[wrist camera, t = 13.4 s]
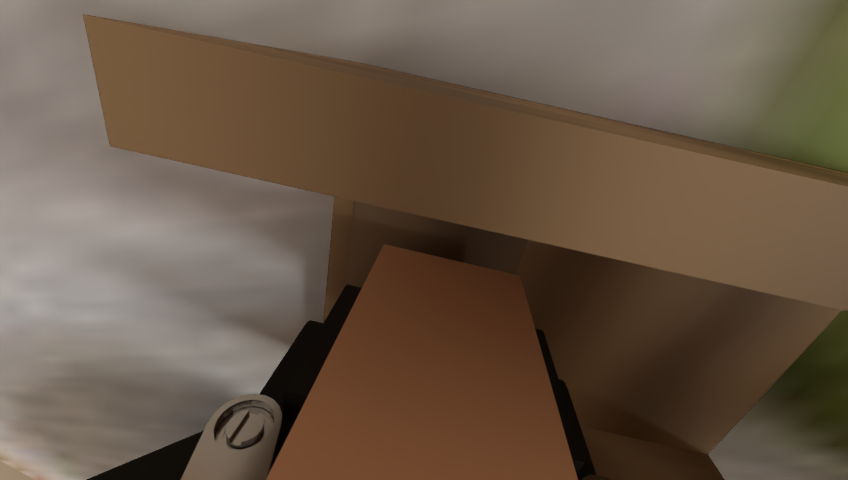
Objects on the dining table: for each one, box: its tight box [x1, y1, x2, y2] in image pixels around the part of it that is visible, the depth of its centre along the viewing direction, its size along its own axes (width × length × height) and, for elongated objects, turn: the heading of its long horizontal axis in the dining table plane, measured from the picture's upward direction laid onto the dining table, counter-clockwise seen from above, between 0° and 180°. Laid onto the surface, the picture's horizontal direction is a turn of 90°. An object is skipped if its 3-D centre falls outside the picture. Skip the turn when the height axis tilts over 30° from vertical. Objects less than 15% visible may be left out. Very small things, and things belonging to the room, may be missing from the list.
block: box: [266, 244, 578, 480], centre depth 9 cm, size 4×4×8 cm
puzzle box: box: [83, 14, 848, 480], centre depth 11 cm, size 19×14×10 cm
